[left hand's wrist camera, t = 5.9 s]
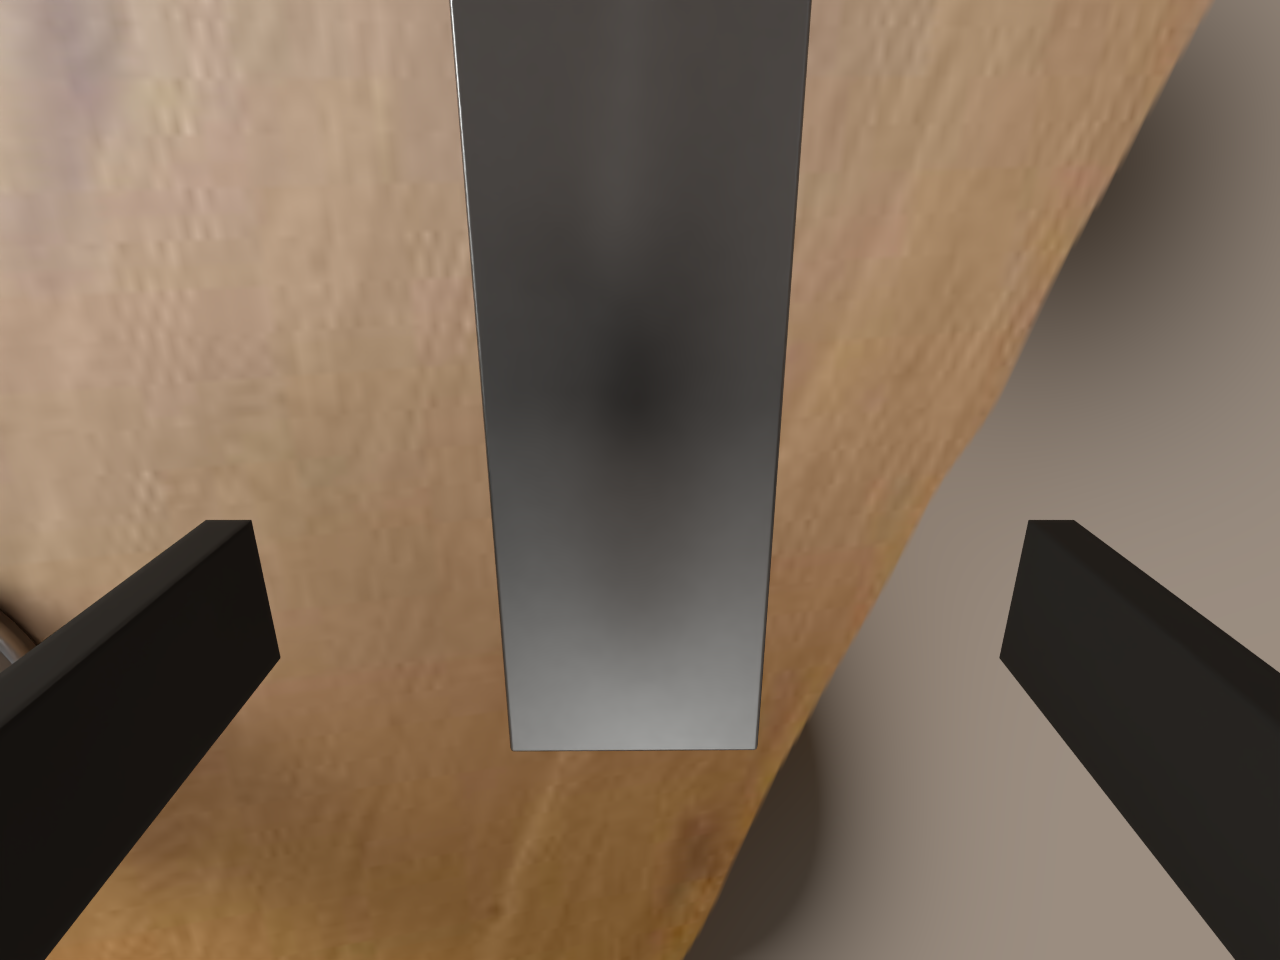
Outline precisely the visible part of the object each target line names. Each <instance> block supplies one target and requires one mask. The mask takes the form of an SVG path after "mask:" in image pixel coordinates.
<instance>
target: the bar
mask: <svg viewBox="0 0 1280 960" xmlns="http://www.w3.org/2000/svg"><path fill="white" fill-rule="evenodd" d="M449 3H450V15H451V27H452V40H453V52H454V64H455V76H456V88H457V101H458V113H459V125H460V137H461V149H462V162H463V174H464V186H465V198H466V210H467V223H468V235H469V247H470V259H471V271H472V284H473V296H474V308H475V320H476V333H477V345H478V357H479V369H480V381H481V394H482V406H483V418H484V430H485V442H486V455H487V467H488V479H489V491H490V503H491V516H492V528H493V540H494V552H495V564H496V577H497V589H498V601H499V613H500V626H501V638H502V650H503V662H504V674H505V687H506V699H507V711H508V723H509V735H510V747H511V750H512V751H644V750H755V749H756V748H757V745H758V731H759V717H760V704H761V690H762V676H763V663H764V649H765V635H766V621H767V608H768V594H769V580H770V566H771V553H772V539H773V525H774V511H775V498H776V484H777V470H778V457H779V443H780V429H781V415H782V402H783V388H784V374H785V360H786V347H787V333H788V319H789V306H790V292H791V278H792V264H793V251H794V237H795V223H796V209H797V196H798V182H799V168H800V154H801V141H802V127H803V113H804V100H805V86H806V72H807V58H808V45H809V31H810V17H811V3H812V0H449Z"/></svg>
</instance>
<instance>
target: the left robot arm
mask: <svg viewBox="0 0 1280 960" xmlns="http://www.w3.org/2000/svg"><path fill="white" fill-rule="evenodd" d="M279 659H280V653H279V648H278V643H277V639H276V634H275V629H274V625H273V620H272V615H271V610H270V606H269V601H268V596H267V591H266V587H265V582H264V577H263V573H262V568H261V563H260V558H259V554H258V549H257V544H256V540H255V535H254V530H253V525H252V521H251V520H206V521H204V522H203V523H201V524H200V525H199V526H197V527H196V528H195V529H193V530H192V531H191V532H189V533H188V534H187V535H185V536H184V537H183V538H181V539H180V540H179V541H177V542H176V543H175V544H173V545H172V546H171V547H169V548H168V549H166V550H165V551H164V552H162V553H161V554H160V555H158V556H157V557H156V558H154V559H153V560H152V561H150V562H149V563H148V564H146V565H145V566H144V567H142V568H141V569H140V570H138V571H137V572H136V573H134V574H133V575H131V576H130V577H129V578H127V579H126V580H125V581H123V582H122V583H121V584H119V585H118V586H117V587H115V588H114V589H113V590H111V591H110V592H109V593H107V594H106V595H105V596H103V597H102V598H101V599H99V600H98V601H96V602H95V603H94V604H92V605H91V606H90V607H88V608H87V609H86V610H84V611H83V612H82V613H80V614H79V615H78V616H76V617H75V618H74V619H72V620H71V621H70V622H68V623H67V624H66V625H64V626H63V627H61V628H60V629H59V630H57V631H56V632H55V633H53V634H52V635H51V636H49V637H48V638H47V639H45V640H44V641H43V642H41V643H40V644H39V645H37V646H36V645H35V644H34V643H33V641H32V640H31V639H30V638H29V637H28V636H27V635H26V634H25V633H24V632H23V631H22V630H21V629H20V628H19V627H18V626H17V625H16V624H15V623H14V622H13V621H12V620H11V619H10V618H8V617H7V616H6V615H5V614H4V613H3V612H1V611H0V960H45V959H46V958H47V956H48V955H49V954H50V952H51V951H52V950H53V949H54V947H55V946H56V945H57V943H58V942H59V941H60V940H61V938H62V937H63V936H64V934H65V933H66V932H67V931H68V929H69V928H70V927H71V926H72V924H73V923H74V922H75V920H76V919H77V918H78V917H79V915H80V914H81V913H82V911H83V910H84V909H85V908H86V906H87V905H88V904H89V902H90V901H91V900H92V899H93V897H94V896H95V895H96V894H97V892H98V891H99V890H100V888H101V887H102V886H103V885H104V883H105V882H106V881H107V879H108V878H109V877H110V876H111V874H112V873H113V872H114V870H115V869H116V868H117V867H118V865H119V864H120V863H121V861H122V860H123V859H124V858H125V856H126V855H127V854H128V853H129V851H130V850H131V849H132V847H133V846H134V845H135V844H136V842H137V841H138V840H139V838H140V837H141V836H142V835H143V833H144V832H145V831H146V829H147V828H148V827H149V826H150V824H151V823H152V822H153V821H154V819H155V818H156V817H157V815H158V814H159V813H160V812H161V810H162V809H163V808H164V806H165V805H166V804H167V803H168V801H169V800H170V799H171V797H172V796H173V795H174V794H175V792H176V791H177V790H178V789H179V787H180V786H181V785H182V783H183V782H184V781H185V780H186V778H187V777H188V776H189V774H190V773H191V772H192V771H193V769H194V768H195V767H196V765H197V764H198V763H199V762H200V760H201V759H202V758H203V757H204V755H205V754H206V753H207V751H208V750H209V749H210V748H211V746H212V745H213V744H214V742H215V741H216V740H217V739H218V737H219V736H220V735H221V733H222V732H223V731H224V730H225V728H226V727H227V726H228V725H229V723H230V722H231V721H232V719H233V718H234V717H235V716H236V714H237V713H238V712H239V710H240V709H241V708H242V707H243V705H244V704H245V703H246V701H247V700H248V699H249V698H250V696H251V695H252V694H253V693H254V691H255V690H256V689H257V687H258V686H259V685H260V684H261V682H262V681H263V680H264V678H265V677H266V676H267V675H268V673H269V672H270V671H271V669H272V668H273V667H274V666H275V664H276V663H277V662H278V661H279ZM1000 659H1001V661H1002V662H1003V663H1004V664H1005V666H1006V667H1007V668H1008V669H1009V671H1010V672H1011V673H1012V675H1013V676H1014V677H1015V678H1016V680H1017V681H1018V682H1019V684H1020V685H1021V686H1022V687H1023V689H1024V690H1025V691H1026V693H1027V694H1028V695H1029V696H1030V698H1031V699H1032V700H1033V701H1034V703H1035V704H1036V705H1037V707H1038V708H1039V709H1040V710H1041V712H1042V713H1043V714H1044V716H1045V717H1046V718H1047V719H1048V721H1049V722H1050V723H1051V724H1052V726H1053V727H1054V728H1055V730H1056V731H1057V732H1058V733H1059V735H1060V736H1061V737H1062V739H1063V740H1064V741H1065V742H1066V744H1067V745H1068V746H1069V747H1070V749H1071V750H1072V751H1073V753H1074V754H1075V755H1076V756H1077V758H1078V759H1079V760H1080V762H1081V763H1082V764H1083V765H1084V767H1085V768H1086V769H1087V771H1088V772H1089V773H1090V774H1091V776H1092V777H1093V778H1094V780H1095V781H1096V782H1097V783H1098V785H1099V786H1100V787H1101V789H1102V790H1103V791H1104V792H1105V794H1106V795H1107V796H1108V797H1109V799H1110V800H1111V801H1112V803H1113V804H1114V805H1115V806H1116V808H1117V809H1118V810H1119V812H1120V813H1121V814H1122V815H1123V817H1124V818H1125V819H1126V821H1127V822H1128V823H1129V824H1130V826H1131V827H1132V828H1133V829H1134V831H1135V832H1136V833H1137V835H1138V836H1139V837H1140V838H1141V840H1142V841H1143V842H1144V844H1145V845H1146V846H1147V847H1148V849H1149V850H1150V851H1151V852H1152V854H1153V855H1154V856H1155V858H1156V859H1157V860H1158V861H1159V863H1160V864H1161V865H1162V867H1163V868H1164V869H1165V870H1166V872H1167V873H1168V874H1169V876H1170V877H1171V878H1172V879H1173V881H1174V882H1175V883H1176V885H1177V886H1178V887H1179V888H1180V890H1181V891H1182V892H1183V894H1184V895H1185V896H1186V897H1187V899H1188V900H1189V901H1190V902H1191V904H1192V905H1193V906H1194V908H1195V909H1196V910H1197V911H1198V913H1199V914H1200V915H1201V917H1202V918H1203V919H1204V920H1205V922H1206V923H1207V924H1208V925H1209V927H1210V928H1211V929H1212V931H1213V932H1214V933H1215V934H1216V936H1217V937H1218V938H1219V940H1220V941H1221V942H1222V943H1223V945H1224V946H1225V947H1226V949H1227V950H1228V951H1229V952H1230V954H1231V955H1232V956H1233V958H1234V959H1235V960H1280V673H1279V672H1278V671H1276V670H1275V669H1274V668H1272V667H1271V666H1270V665H1268V664H1267V663H1266V662H1264V661H1263V660H1262V659H1260V658H1259V657H1258V656H1256V655H1255V654H1254V653H1252V652H1251V651H1249V650H1248V649H1247V648H1245V647H1244V646H1243V645H1241V644H1240V643H1239V642H1237V641H1236V640H1235V639H1233V638H1232V637H1231V636H1229V635H1228V634H1227V633H1225V632H1224V631H1223V630H1221V629H1220V628H1219V627H1217V626H1216V625H1214V624H1213V623H1212V622H1210V621H1209V620H1208V619H1206V618H1205V617H1204V616H1202V615H1201V614H1200V613H1198V612H1197V611H1196V610H1194V609H1193V608H1192V607H1190V606H1189V605H1187V604H1186V603H1185V602H1183V601H1182V600H1181V599H1179V598H1178V597H1177V596H1175V595H1174V594H1173V593H1171V592H1170V591H1169V590H1167V589H1166V588H1165V587H1163V586H1162V585H1160V584H1159V583H1158V582H1157V581H1155V580H1154V579H1153V578H1151V577H1150V576H1149V575H1147V574H1146V573H1144V572H1143V571H1142V570H1140V569H1139V568H1138V567H1136V566H1135V565H1134V564H1132V563H1131V562H1130V561H1128V560H1127V559H1126V558H1124V557H1123V556H1122V555H1120V554H1119V553H1118V552H1116V551H1115V550H1113V549H1112V548H1111V547H1109V546H1108V545H1107V544H1105V543H1104V542H1103V541H1101V540H1100V539H1099V538H1097V537H1096V536H1095V535H1093V534H1092V533H1091V532H1089V531H1088V530H1087V529H1085V528H1084V527H1083V526H1081V525H1080V524H1079V523H1077V522H1076V521H1074V520H1029V521H1028V525H1027V530H1026V535H1025V540H1024V544H1023V549H1022V554H1021V558H1020V563H1019V568H1018V573H1017V577H1016V582H1015V587H1014V591H1013V596H1012V601H1011V606H1010V610H1009V615H1008V620H1007V625H1006V629H1005V634H1004V639H1003V643H1002V648H1001V653H1000Z"/></svg>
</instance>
